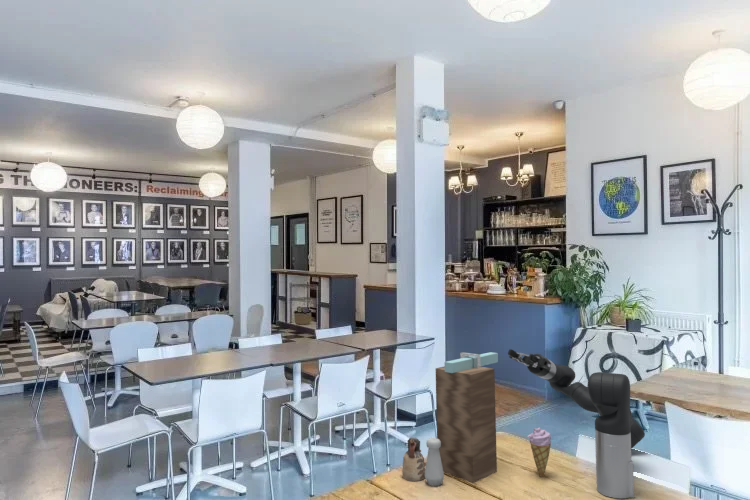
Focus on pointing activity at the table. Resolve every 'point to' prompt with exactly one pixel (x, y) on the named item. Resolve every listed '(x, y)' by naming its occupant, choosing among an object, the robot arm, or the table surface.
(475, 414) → the plinth
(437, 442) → the salt shaker
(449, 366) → the peg
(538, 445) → the ice cream cone
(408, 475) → the figurine
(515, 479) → the table surface
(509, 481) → the table surface
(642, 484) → the table surface
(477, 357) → the arch
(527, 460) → the table surface
